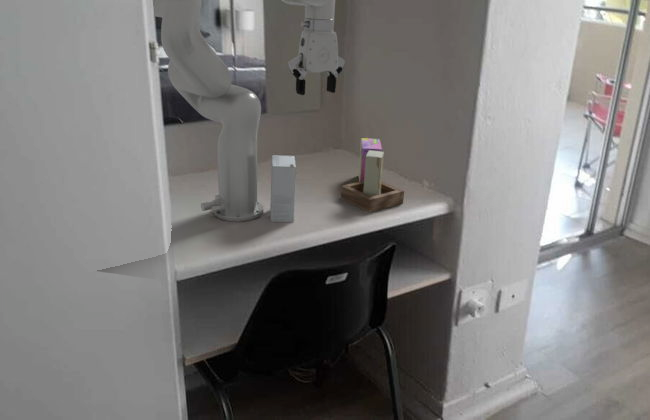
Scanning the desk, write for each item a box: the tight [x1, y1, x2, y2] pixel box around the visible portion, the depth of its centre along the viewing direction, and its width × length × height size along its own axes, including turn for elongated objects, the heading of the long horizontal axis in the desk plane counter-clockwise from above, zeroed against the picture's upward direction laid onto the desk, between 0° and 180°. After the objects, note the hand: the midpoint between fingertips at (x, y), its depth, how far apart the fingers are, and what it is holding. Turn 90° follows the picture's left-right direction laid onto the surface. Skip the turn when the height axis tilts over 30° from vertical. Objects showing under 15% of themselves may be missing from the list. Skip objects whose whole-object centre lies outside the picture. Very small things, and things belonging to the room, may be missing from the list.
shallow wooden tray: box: [340, 181, 405, 213], centre depth 162 cm, size 12×12×4 cm
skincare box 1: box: [269, 154, 297, 223], centre depth 148 cm, size 8×6×15 cm
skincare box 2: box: [363, 150, 385, 197], centre depth 160 cm, size 6×4×12 cm
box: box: [357, 137, 383, 182], centre depth 174 cm, size 10×6×12 cm, turn 179°
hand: (315, 93), depth 160 cm, fingers open, 9 cm apart
